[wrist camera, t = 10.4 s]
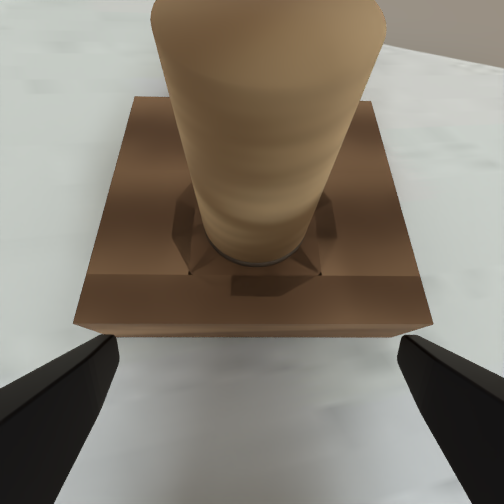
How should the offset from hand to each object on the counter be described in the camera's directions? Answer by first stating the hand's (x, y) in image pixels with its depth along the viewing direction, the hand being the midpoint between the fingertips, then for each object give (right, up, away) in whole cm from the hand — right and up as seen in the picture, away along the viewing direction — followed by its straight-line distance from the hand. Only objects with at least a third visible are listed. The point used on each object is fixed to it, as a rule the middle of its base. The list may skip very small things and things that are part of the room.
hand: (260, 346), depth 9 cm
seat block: (0, +5, +10) cm, 11 cm away
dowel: (0, +3, +10) cm, 10 cm away
